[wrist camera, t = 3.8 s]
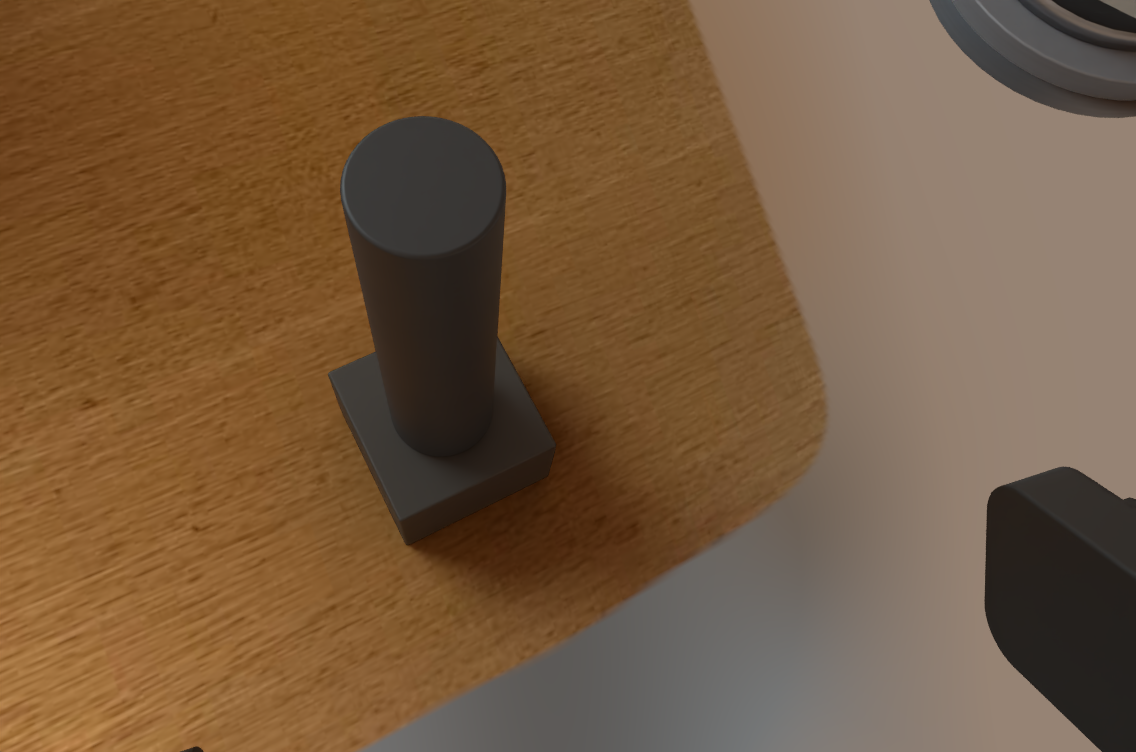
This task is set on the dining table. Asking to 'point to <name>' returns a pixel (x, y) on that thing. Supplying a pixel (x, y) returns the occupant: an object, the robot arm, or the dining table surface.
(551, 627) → the dining table surface
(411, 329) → the grey peg on base
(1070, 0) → the robot arm
